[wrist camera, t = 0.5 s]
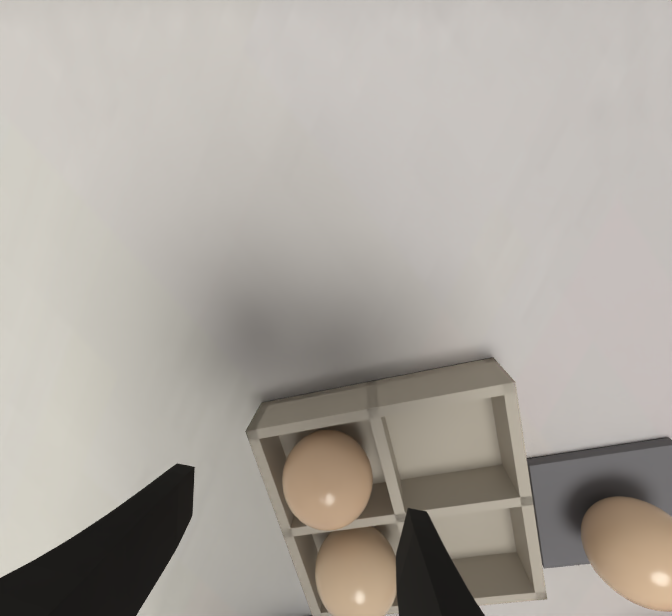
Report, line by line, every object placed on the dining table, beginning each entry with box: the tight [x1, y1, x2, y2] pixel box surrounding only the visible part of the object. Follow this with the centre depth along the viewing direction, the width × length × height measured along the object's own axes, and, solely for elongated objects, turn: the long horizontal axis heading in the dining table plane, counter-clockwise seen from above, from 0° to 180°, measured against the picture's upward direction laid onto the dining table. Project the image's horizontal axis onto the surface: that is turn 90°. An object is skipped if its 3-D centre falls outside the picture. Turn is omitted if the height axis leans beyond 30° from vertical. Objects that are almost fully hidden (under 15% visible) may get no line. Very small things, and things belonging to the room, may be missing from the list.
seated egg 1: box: [282, 430, 373, 531], centre depth 19 cm, size 5×5×5 cm
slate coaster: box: [527, 438, 672, 568], centre depth 21 cm, size 8×8×1 cm
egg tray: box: [245, 358, 547, 616], centre depth 21 cm, size 14×14×3 cm
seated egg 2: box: [315, 526, 397, 616], centre depth 20 cm, size 5×5×5 cm
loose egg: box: [581, 496, 672, 611], centre depth 18 cm, size 5×5×5 cm
